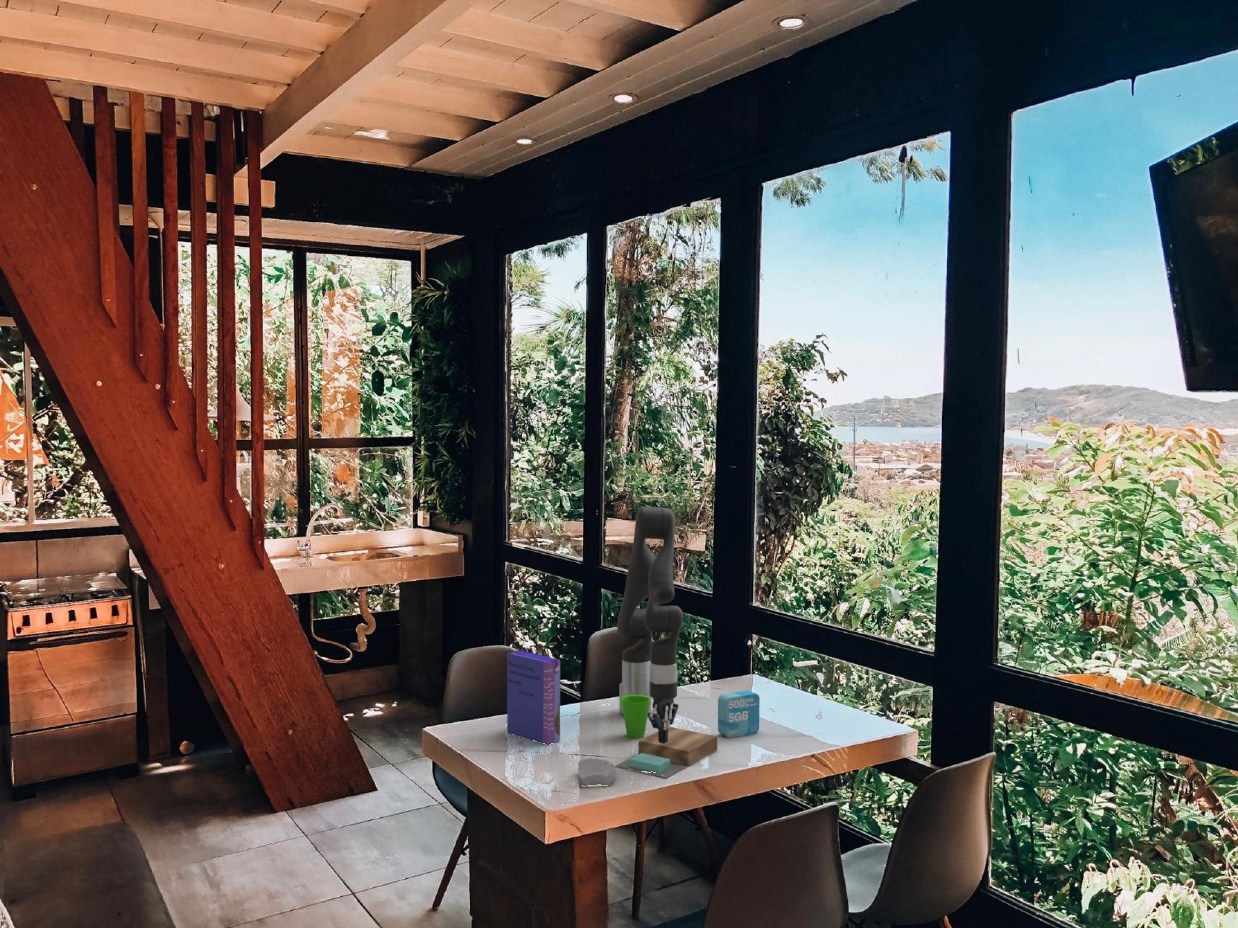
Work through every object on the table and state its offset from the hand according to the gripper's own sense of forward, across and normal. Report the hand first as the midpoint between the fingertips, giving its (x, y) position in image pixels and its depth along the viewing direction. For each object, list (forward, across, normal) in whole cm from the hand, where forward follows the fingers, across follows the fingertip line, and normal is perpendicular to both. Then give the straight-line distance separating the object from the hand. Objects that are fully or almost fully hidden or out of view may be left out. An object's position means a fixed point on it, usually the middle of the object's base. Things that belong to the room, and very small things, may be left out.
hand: (663, 742), depth 268 cm
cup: (+5, -14, -18) cm, 24 cm away
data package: (+5, -33, +6) cm, 34 cm away
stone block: (+6, +22, -7) cm, 23 cm away
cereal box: (+5, +4, -42) cm, 43 cm away
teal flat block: (+3, +7, 0) cm, 7 cm away
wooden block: (+5, -8, 0) cm, 10 cm away
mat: (+5, +6, 0) cm, 8 cm away
